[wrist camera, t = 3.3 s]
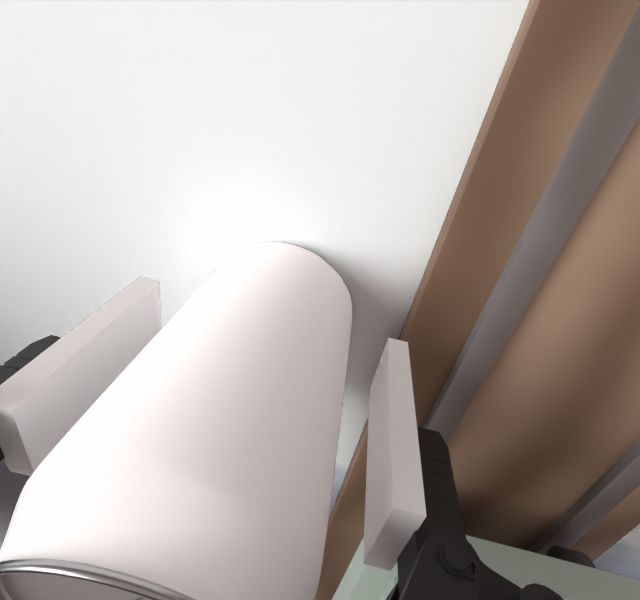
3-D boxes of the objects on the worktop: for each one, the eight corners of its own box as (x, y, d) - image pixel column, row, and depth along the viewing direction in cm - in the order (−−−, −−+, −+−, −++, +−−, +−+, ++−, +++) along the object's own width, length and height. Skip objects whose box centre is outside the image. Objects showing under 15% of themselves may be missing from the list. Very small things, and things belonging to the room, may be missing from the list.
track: (303, 583, 30) (296, 630, 27) (590, -157, 9) (678, -260, 6) (483, 630, 29) (492, 682, 27) (1234, -23, 8) (1610, -72, 6)
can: (380, 328, 16) (380, 723, 6) (270, 377, 19) (141, 718, 9) (298, 208, 14) (88, 513, 4) (186, 281, 17) (-122, 586, 6)
